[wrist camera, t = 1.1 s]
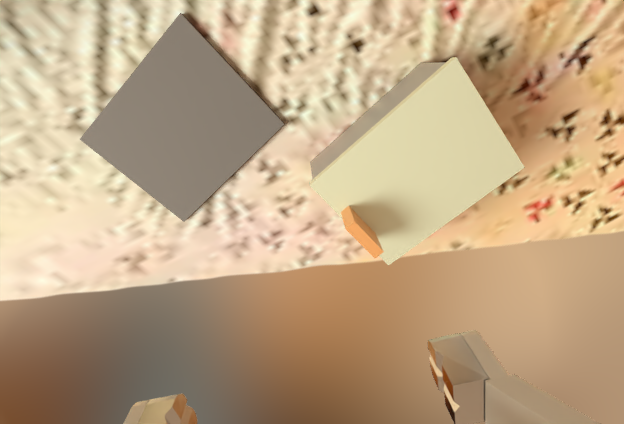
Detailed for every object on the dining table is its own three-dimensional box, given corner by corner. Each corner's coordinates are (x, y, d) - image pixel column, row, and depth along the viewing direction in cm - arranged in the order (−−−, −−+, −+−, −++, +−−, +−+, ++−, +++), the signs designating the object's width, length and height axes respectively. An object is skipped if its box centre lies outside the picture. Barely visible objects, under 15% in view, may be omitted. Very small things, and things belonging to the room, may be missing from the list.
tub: (420, 62, 37) (450, 62, 30) (477, 147, 42) (515, 164, 35) (310, 162, 42) (313, 182, 35) (373, 228, 47) (386, 258, 40)
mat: (182, 14, 34) (180, 13, 34) (284, 123, 40) (284, 124, 39) (82, 138, 39) (79, 139, 39) (185, 219, 45) (183, 221, 44)
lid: (446, 57, 31) (479, 56, 25) (512, 161, 36) (551, 179, 30) (308, 178, 36) (311, 199, 30) (384, 255, 41) (397, 286, 35)
